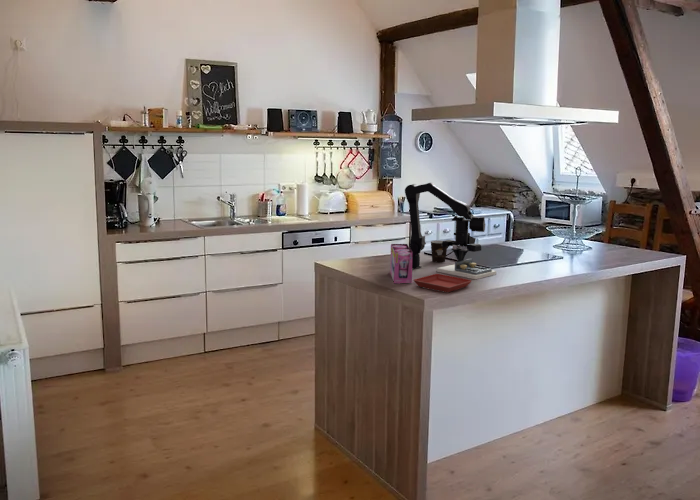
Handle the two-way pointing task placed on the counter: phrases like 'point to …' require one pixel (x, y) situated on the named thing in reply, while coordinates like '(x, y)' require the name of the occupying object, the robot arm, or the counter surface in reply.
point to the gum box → (401, 263)
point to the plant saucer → (442, 282)
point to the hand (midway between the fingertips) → (460, 263)
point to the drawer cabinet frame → (470, 269)
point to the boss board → (451, 270)
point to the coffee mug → (438, 251)
